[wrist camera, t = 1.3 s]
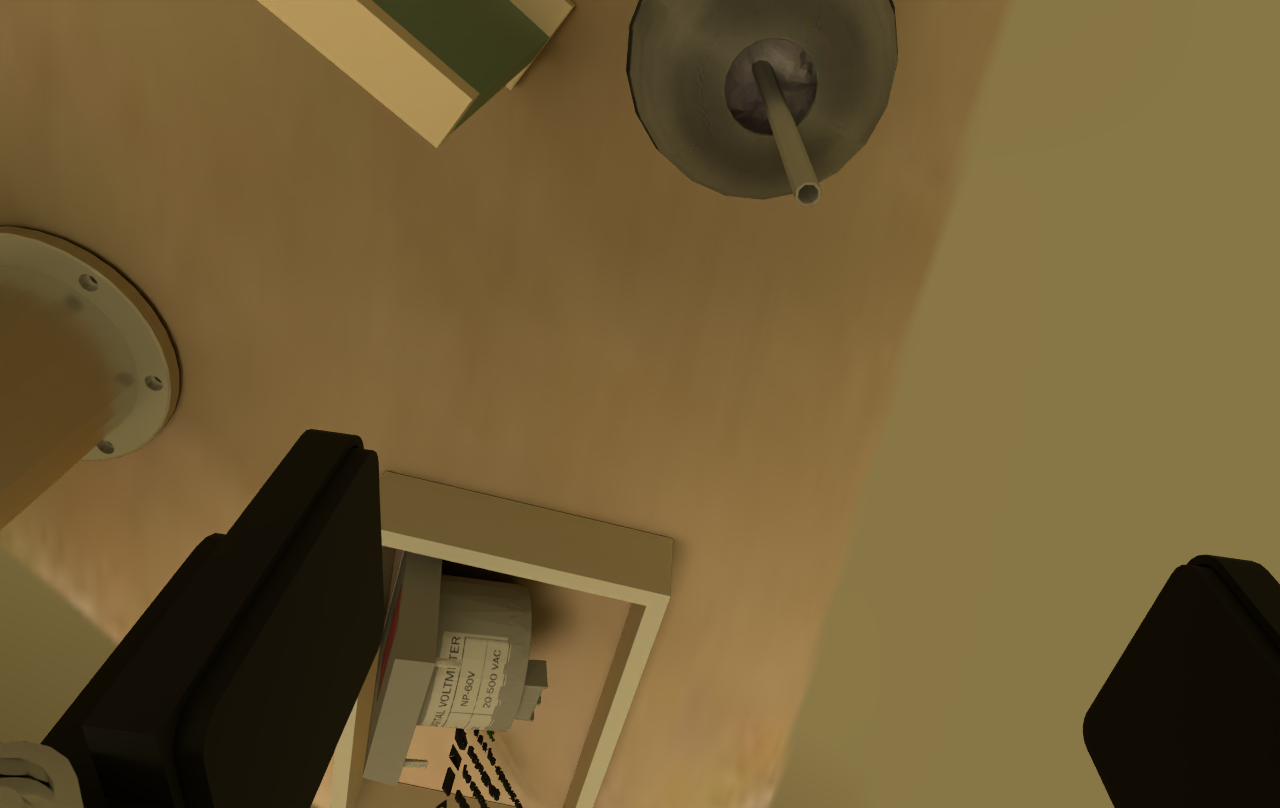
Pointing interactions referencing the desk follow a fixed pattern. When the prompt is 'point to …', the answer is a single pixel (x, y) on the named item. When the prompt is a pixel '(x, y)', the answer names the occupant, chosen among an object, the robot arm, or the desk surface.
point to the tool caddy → (527, 550)
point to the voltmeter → (451, 669)
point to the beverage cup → (761, 88)
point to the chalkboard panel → (428, 50)
